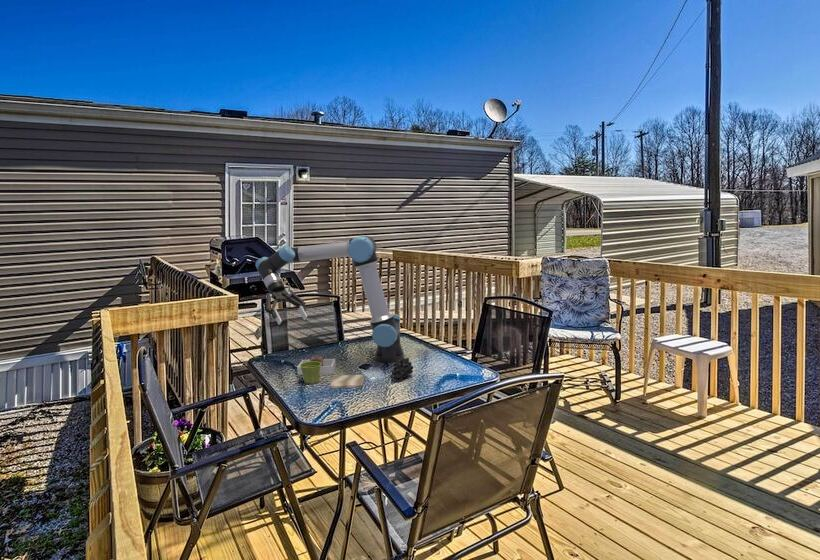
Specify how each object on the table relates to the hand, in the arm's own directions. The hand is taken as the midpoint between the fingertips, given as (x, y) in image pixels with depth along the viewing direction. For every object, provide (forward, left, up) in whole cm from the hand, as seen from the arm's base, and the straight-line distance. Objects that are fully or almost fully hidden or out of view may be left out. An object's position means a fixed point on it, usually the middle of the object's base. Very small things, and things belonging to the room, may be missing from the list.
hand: (293, 320), depth 225 cm
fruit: (-48, +8, -26) cm, 55 cm away
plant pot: (-9, +12, -26) cm, 30 cm away
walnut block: (-9, -4, -25) cm, 27 cm away
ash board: (-25, +12, -26) cm, 38 cm away
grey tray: (-9, -4, -26) cm, 28 cm away
